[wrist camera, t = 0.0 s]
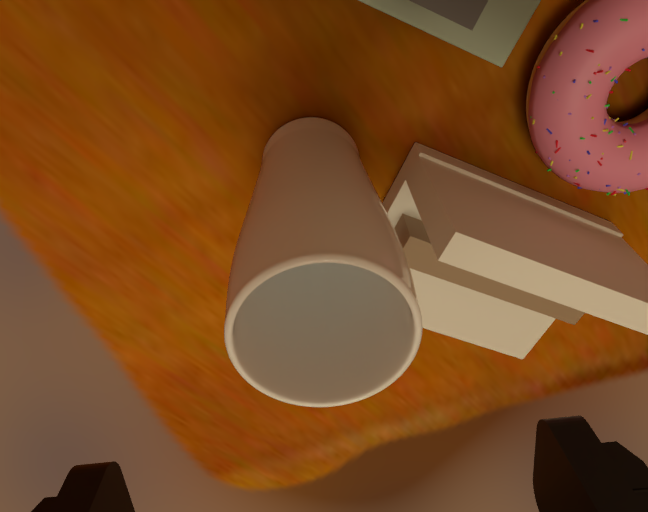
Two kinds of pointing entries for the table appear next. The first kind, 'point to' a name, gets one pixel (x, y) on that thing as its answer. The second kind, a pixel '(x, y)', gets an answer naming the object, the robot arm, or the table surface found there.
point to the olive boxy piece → (466, 22)
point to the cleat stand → (507, 256)
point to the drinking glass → (319, 276)
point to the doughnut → (590, 98)
